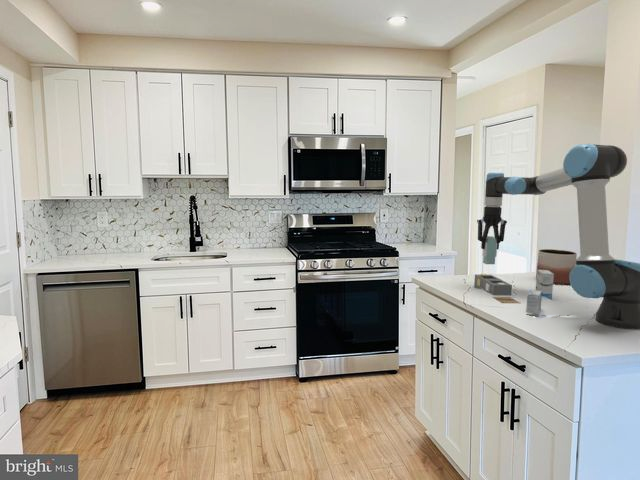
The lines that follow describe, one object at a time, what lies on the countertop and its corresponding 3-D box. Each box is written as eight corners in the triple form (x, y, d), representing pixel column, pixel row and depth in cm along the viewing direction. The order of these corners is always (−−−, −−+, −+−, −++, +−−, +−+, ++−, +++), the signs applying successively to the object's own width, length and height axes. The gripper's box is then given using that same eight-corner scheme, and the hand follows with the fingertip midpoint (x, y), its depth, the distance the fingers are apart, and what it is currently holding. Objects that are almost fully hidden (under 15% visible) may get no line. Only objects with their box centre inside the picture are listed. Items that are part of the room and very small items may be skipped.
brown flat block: (520, 306, 181) (521, 303, 181) (501, 306, 181) (501, 303, 180) (509, 300, 191) (509, 296, 191) (491, 300, 190) (491, 296, 190)
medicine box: (538, 317, 166) (540, 295, 165) (525, 315, 169) (527, 293, 168) (540, 312, 173) (542, 291, 172) (528, 310, 175) (530, 289, 174)
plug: (494, 264, 206) (496, 237, 204) (486, 264, 206) (488, 237, 204) (491, 262, 210) (493, 236, 208) (482, 262, 210) (484, 236, 208)
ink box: (552, 300, 193) (554, 273, 191) (539, 299, 194) (542, 273, 192) (546, 295, 201) (548, 269, 199) (534, 294, 202) (536, 269, 200)
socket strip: (511, 298, 194) (512, 284, 193) (492, 298, 194) (493, 284, 193) (490, 286, 216) (491, 273, 215) (473, 286, 215) (474, 273, 214)
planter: (539, 276, 243) (541, 248, 241) (576, 281, 233) (579, 251, 231) (532, 281, 229) (535, 251, 227) (571, 287, 219) (574, 255, 216)
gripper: (507, 206, 208) (503, 255, 212) (471, 205, 208) (468, 254, 211) (514, 207, 201) (510, 257, 204) (477, 206, 200) (474, 257, 204)
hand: (489, 256), depth 208 cm, fingers closed on plug, 4 cm apart
